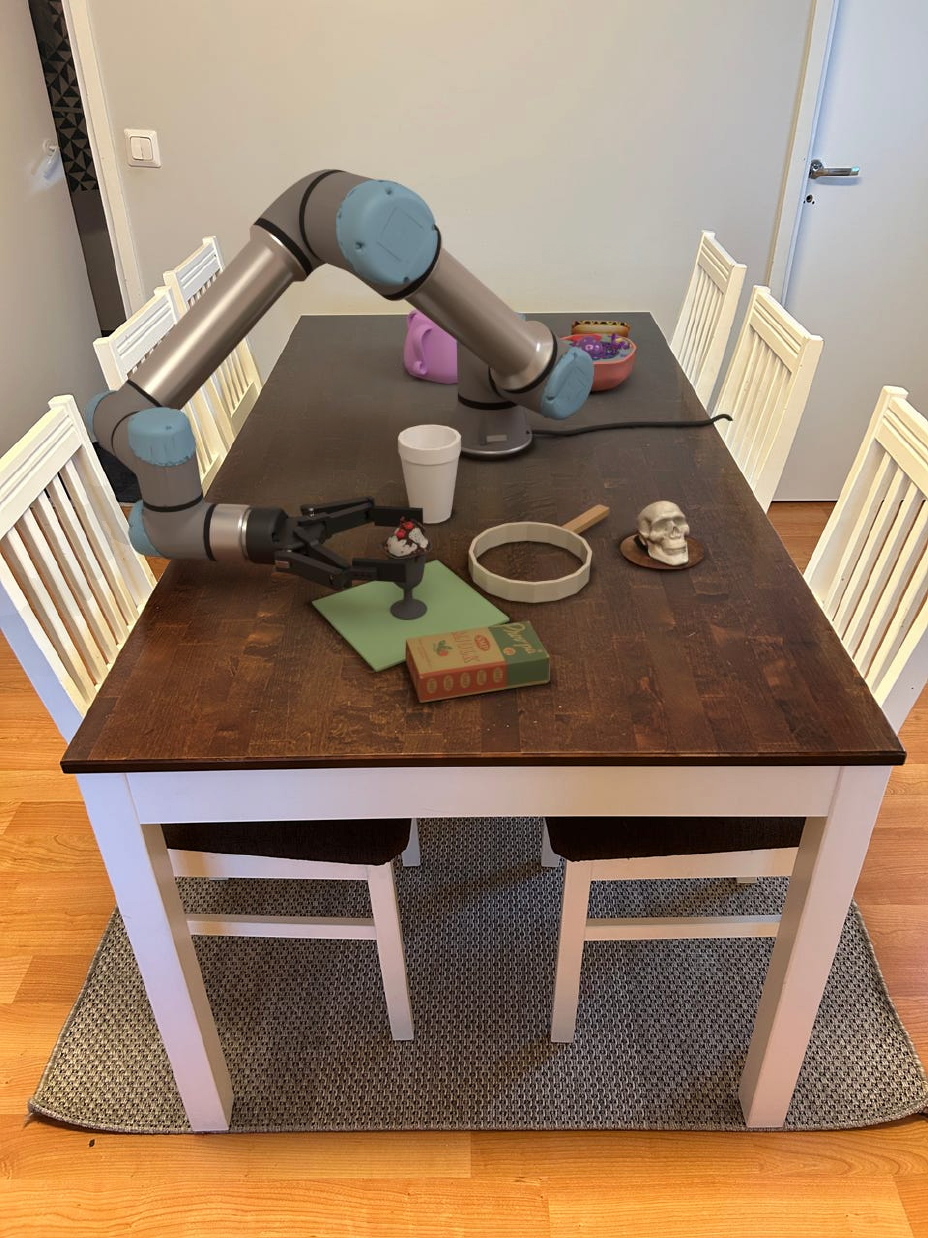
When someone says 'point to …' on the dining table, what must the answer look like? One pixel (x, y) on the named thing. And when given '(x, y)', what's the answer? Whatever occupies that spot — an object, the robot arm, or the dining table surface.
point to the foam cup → (430, 468)
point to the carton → (476, 661)
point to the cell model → (606, 357)
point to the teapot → (429, 350)
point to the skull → (662, 539)
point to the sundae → (408, 565)
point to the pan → (538, 533)
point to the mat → (385, 636)
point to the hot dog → (600, 327)
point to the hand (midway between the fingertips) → (415, 543)
